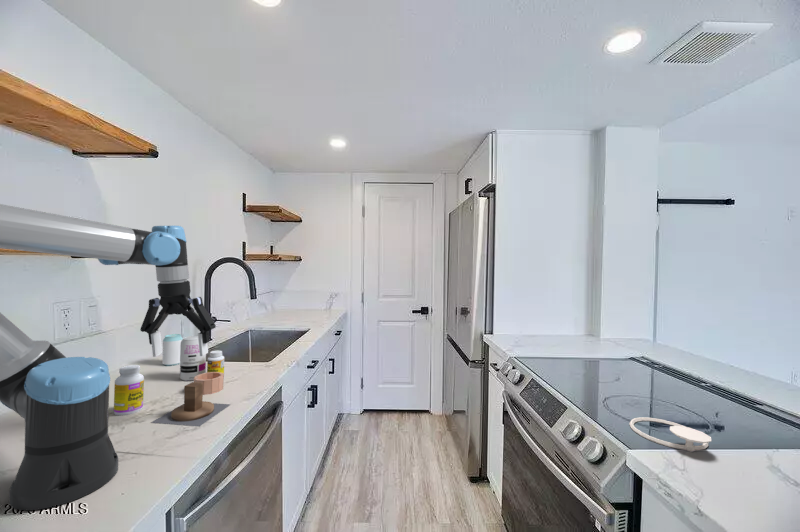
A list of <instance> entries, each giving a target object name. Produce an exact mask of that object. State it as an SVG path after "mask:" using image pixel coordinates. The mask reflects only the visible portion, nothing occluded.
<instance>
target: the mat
mask: <svg viewBox="0 0 800 532" xmlns="http://www.w3.org/2000/svg"><path fill="white" fill-rule="evenodd" d="M212 403H213V404H214V411H213V412H212V413H211V414H210V415H208V416H206V417H204V418H201V419H197V420H192V421H175V420H173V419H172V418H171V412H172V411H173V410H174V409H172V410H171V411H168V412H166V413H165V414H163V415H162V416H160V417H157V418H156V419H154V420H153V421H151V422H150V424H160V425H174V426H175V425H176V426H189V427H199V428H200V427H201V426H202V425H204V424H205V423H207V422H208V421H210V420H211V419H212V418H214V417H215V416H217V415H218V414H220V413H221V412H223V411H224V410H225V409H227V408H228V407H229V406H231V403H229V404H228V403H216V402H212ZM182 405H184V403H182Z"/></svg>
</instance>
